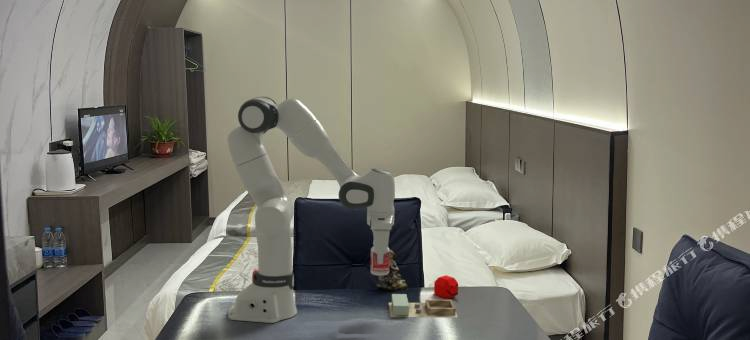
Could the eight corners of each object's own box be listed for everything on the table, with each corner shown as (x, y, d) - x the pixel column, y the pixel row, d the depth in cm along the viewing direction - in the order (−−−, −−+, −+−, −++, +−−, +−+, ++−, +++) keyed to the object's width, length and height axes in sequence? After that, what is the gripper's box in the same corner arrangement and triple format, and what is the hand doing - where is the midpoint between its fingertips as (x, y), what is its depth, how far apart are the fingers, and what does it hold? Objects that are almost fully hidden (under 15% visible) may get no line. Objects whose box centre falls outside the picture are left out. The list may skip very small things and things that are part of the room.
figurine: (373, 293, 247) (373, 253, 245) (379, 284, 257) (380, 246, 255) (404, 295, 244) (405, 255, 242) (410, 286, 254) (410, 248, 252)
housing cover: (393, 315, 220) (393, 305, 219) (391, 303, 231) (391, 294, 231) (408, 315, 220) (408, 305, 219) (406, 303, 232) (406, 294, 231)
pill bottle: (392, 274, 220) (393, 241, 218) (377, 277, 216) (377, 243, 215) (382, 269, 225) (382, 237, 223) (366, 272, 222) (367, 239, 220)
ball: (446, 303, 236) (447, 282, 235) (430, 297, 242) (430, 277, 241) (461, 298, 242) (462, 278, 241) (445, 293, 248) (445, 273, 247)
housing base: (390, 320, 219) (390, 310, 218) (388, 305, 233) (388, 297, 232) (457, 320, 219) (458, 311, 219) (452, 306, 233) (452, 297, 233)
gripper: (370, 212, 228) (369, 251, 230) (371, 225, 208) (370, 268, 210) (388, 212, 229) (388, 252, 230) (391, 225, 208) (390, 269, 210)
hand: (379, 260), depth 220 cm, fingers closed on pill bottle, 6 cm apart
